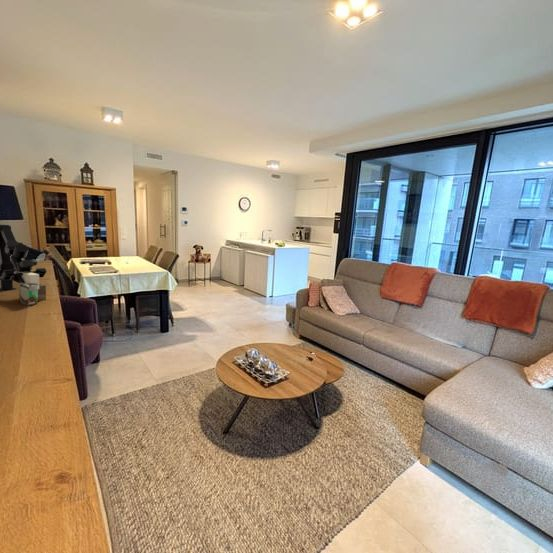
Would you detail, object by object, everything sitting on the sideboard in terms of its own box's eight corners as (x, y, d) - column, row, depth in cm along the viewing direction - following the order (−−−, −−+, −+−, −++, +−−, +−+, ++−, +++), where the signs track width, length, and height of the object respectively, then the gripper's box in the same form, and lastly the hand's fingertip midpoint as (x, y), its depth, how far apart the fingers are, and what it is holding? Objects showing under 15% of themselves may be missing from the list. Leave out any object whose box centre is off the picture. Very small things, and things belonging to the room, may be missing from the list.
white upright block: (23, 298, 163) (22, 273, 161) (32, 297, 166) (31, 272, 164) (31, 301, 159) (30, 275, 157) (39, 299, 162) (39, 274, 160)
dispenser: (19, 301, 157) (18, 286, 156) (41, 298, 165) (41, 284, 164) (23, 302, 154) (23, 287, 153) (46, 299, 163) (45, 285, 162)
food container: (44, 304, 154) (43, 285, 152) (29, 306, 148) (29, 286, 147) (34, 300, 160) (33, 281, 159) (19, 301, 155) (19, 282, 153)
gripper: (2, 254, 154) (14, 278, 150) (44, 253, 170) (55, 275, 167) (-4, 268, 158) (7, 291, 155) (37, 266, 175) (48, 287, 171)
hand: (30, 286), depth 162 cm, fingers open, 4 cm apart
